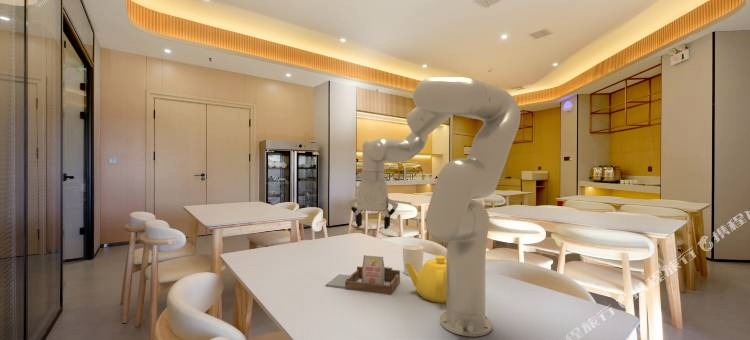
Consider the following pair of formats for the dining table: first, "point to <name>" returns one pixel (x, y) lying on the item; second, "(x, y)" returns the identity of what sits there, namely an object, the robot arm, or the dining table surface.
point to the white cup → (413, 257)
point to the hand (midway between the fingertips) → (372, 227)
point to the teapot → (430, 279)
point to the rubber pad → (338, 281)
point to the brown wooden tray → (389, 276)
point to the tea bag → (373, 270)
